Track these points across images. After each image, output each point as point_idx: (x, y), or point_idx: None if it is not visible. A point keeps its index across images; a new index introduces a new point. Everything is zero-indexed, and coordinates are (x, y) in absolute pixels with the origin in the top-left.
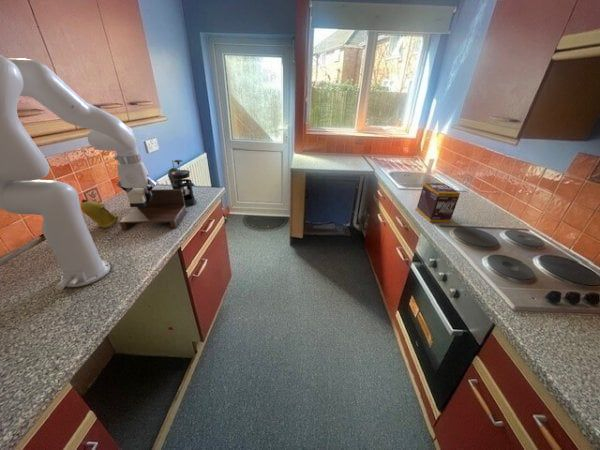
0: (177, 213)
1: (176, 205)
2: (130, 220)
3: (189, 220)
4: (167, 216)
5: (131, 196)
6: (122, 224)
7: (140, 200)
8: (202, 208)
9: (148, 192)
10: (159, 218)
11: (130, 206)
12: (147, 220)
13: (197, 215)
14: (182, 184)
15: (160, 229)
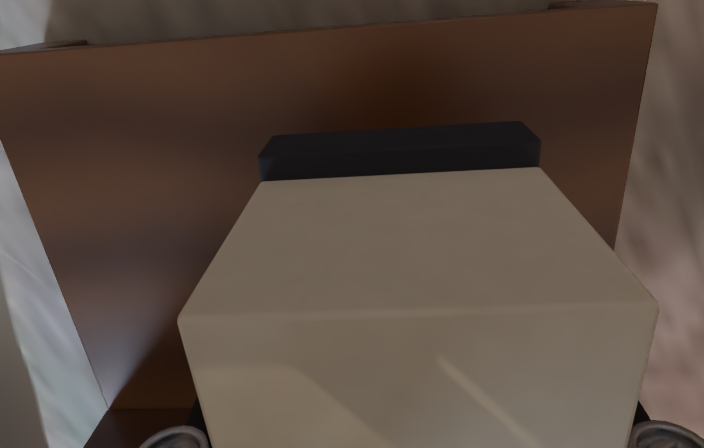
0: (53, 236)
1: (182, 407)
2: (520, 51)
3: (21, 211)
4: (116, 163)
5: (496, 244)
6: (609, 2)
7: (298, 201)
8: (54, 414)
9: (150, 444)
10: (178, 109)
11: (522, 123)
12: (295, 49)
13: (13, 302)
14: None
15: (190, 18)
